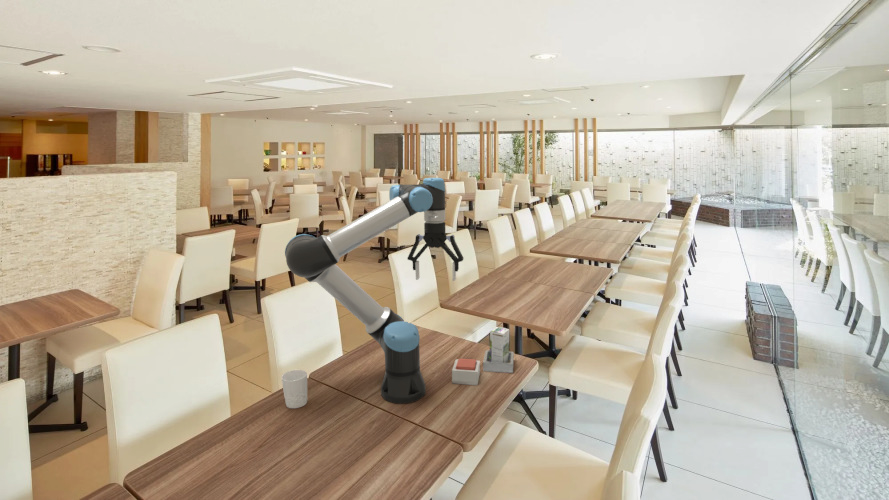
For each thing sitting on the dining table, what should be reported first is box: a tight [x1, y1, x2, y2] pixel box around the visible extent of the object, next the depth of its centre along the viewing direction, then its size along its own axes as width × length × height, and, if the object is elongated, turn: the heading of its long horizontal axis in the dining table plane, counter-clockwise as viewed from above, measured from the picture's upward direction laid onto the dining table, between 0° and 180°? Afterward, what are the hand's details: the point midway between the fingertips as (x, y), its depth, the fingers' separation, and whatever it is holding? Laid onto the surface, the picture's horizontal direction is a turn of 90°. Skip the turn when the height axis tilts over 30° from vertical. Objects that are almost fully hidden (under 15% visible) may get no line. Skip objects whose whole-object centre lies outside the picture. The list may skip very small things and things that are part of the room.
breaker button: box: [456, 358, 477, 371], centre depth 164 cm, size 6×6×5 cm
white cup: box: [280, 369, 308, 409], centre depth 149 cm, size 8×8×10 cm
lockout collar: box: [482, 349, 515, 374], centre depth 174 cm, size 11×11×4 cm
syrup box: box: [488, 326, 510, 363], centre depth 173 cm, size 6×6×14 cm
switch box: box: [451, 358, 481, 386], centre depth 165 cm, size 9×9×5 cm
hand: (435, 279), depth 167 cm, fingers open, 13 cm apart
